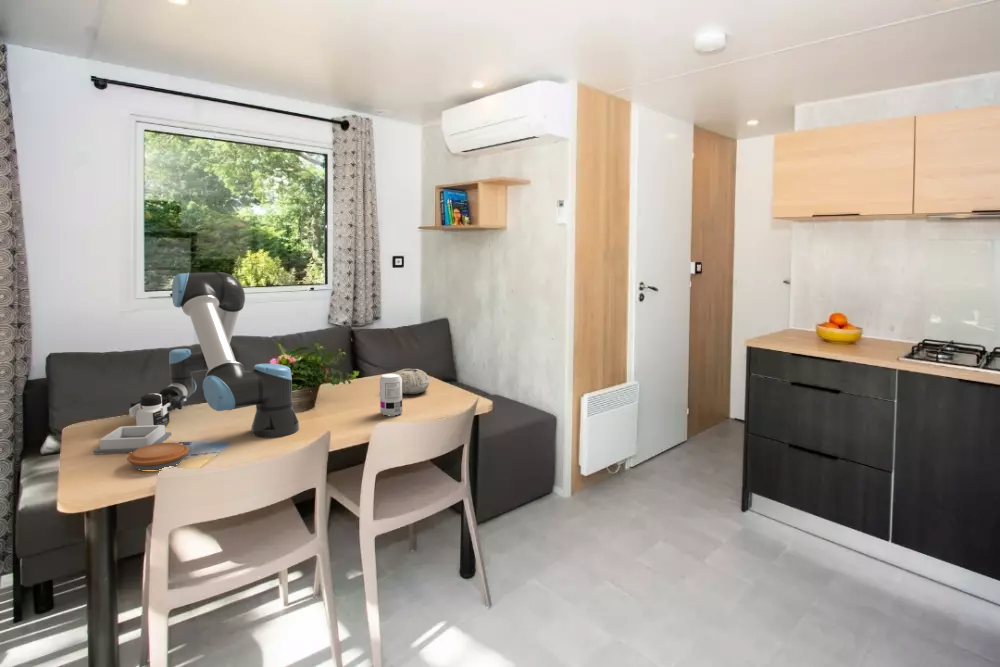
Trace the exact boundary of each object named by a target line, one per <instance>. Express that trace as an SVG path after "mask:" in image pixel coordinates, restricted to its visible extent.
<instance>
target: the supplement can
mask: <svg viewBox="0 0 1000 667" xmlns="http://www.w3.org/2000/svg"><path fill="white" fill-rule="evenodd" d="M379 396H380V397H379V400H380V401H379V402H380V403H379V404H380V409H379V410H380V414H381V415H382V414H383V415H382V416H384V415H390V416H389V417H396V416H395V415H397V416H399V414H400V415H401V414H402V413H403V393H402V379H401V377H400V375H399V374H393V373H384V374H382V375H381V377H380V378H379Z"/></svg>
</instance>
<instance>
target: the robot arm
mask: <svg viewBox="0 0 1000 667" xmlns="http://www.w3.org/2000/svg"><path fill="white" fill-rule="evenodd" d="M171 288H172V289H171V296H172V304H173V306H174V307H175V308H182V311H183V314H184V315H186V316H188V317H190V319H191V322H192V326H193V328H194V332H195V334H196V336H197V340H198V343H199V346H200V348H201V352H191V349H190V348H175V349H172V350H170V352H169V354H168V355H169V356H168V363H169V374H170V375H169V376H170V384H169V385H168V386H166V387H165V388H163V389H161V390H160V391H159V392H158V394H160V395H161V398H162V406H163V407H162V408H161V416H164V415H165V414H167V413H168V412H169V413H170V412H172V411H175V410H176V409H177V410H182V409H183V407H184V405H185V404H186V403H187V399H188V398H189V397H191V396H193V394H194V393H195V392H196V390H197V388H198V387H197V382H196V380H195V379H193V378H194V377H193V373H197V372H205V371H207V372H206V374H205V378H204V379H203V381H202V391H203V395H204V398H205V401H206V402H207V404H208V406H209V407H210V408H211V409H212V410H214V411H215V412H216V411H217V412H223V411H232V410H237V409H241V408H242V409H243V408H247V407H252V406H255V408H256V409H255V414H254V417H253V420H252V421H253V422H252V425H251V434H252V436H255V437H258V438H259V437H260V438H278V437H284V436H285V437H286V436H288V435H291V434H294V433H296V432H298V431H299V428H300V424H299V420H298V418H297V415H296V412H295V410H294V407H293V378H292V371H291V368H290V367H289V366H287V365H284V364H283V365H282V364H276V363H258V364H255V365H254V366H253V370H245V368H244V365H243V364H242V363H241V362H239V361H237V360H236V358H235V354H234V352H233V350H232V346H231V341H232V337H233V334H234V330H235V327H236V324H237V321H238V320H237V319H238V317H239V312H240V311H242V310H243V308H244V305H245V302H246V295H245V291H244V290H245V289H244V288H243V286H242V284H241V283H240V281H239V280H238V279H237V278H236V277H234V276H233V275H231V274H229V273H226V272H222V271H221V272H220V271H219V272H218V271H217V272H186V273H185V272H183V273H177V274H176V275H175V276H174V278H173V280H172V287H171ZM129 405H130V408H129V409H128V412H129V413H128V414H129V418H133V417H134V416H136V410H139V409H142V405H141V399H139V400H136V401H134V402H130V403H129Z"/></svg>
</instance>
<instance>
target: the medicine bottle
mask: <svg viewBox="0 0 1000 667" xmlns="http://www.w3.org/2000/svg"><path fill="white" fill-rule="evenodd" d="M140 400H141V405H142V409H139V410H136V415H135V421H136V422H135V423H136V426H150V425H165V429H166V428H169V427H170V425H171V423H170V412H168V413H167V414H165V415H164V416H161V408H162V407H163V406H162V398H161V395H160V394H159V393H146V394H144V395H142V396H141V397H140Z"/></svg>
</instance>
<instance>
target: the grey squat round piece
mask: <svg viewBox="0 0 1000 667" xmlns="http://www.w3.org/2000/svg"><path fill="white" fill-rule="evenodd" d="M392 374H399V375H400V377H401V379H402V394H404V395H406V394H408V395H416V394H417V395H419V394H421V393H423V392H424V391H426V390H427V389H428V387H429V386H430V377H429V376H428V375H427V372H425V371H423V370H422V369H419V368H402V369H400V370H397V371H395V372H393V373H392Z"/></svg>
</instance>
